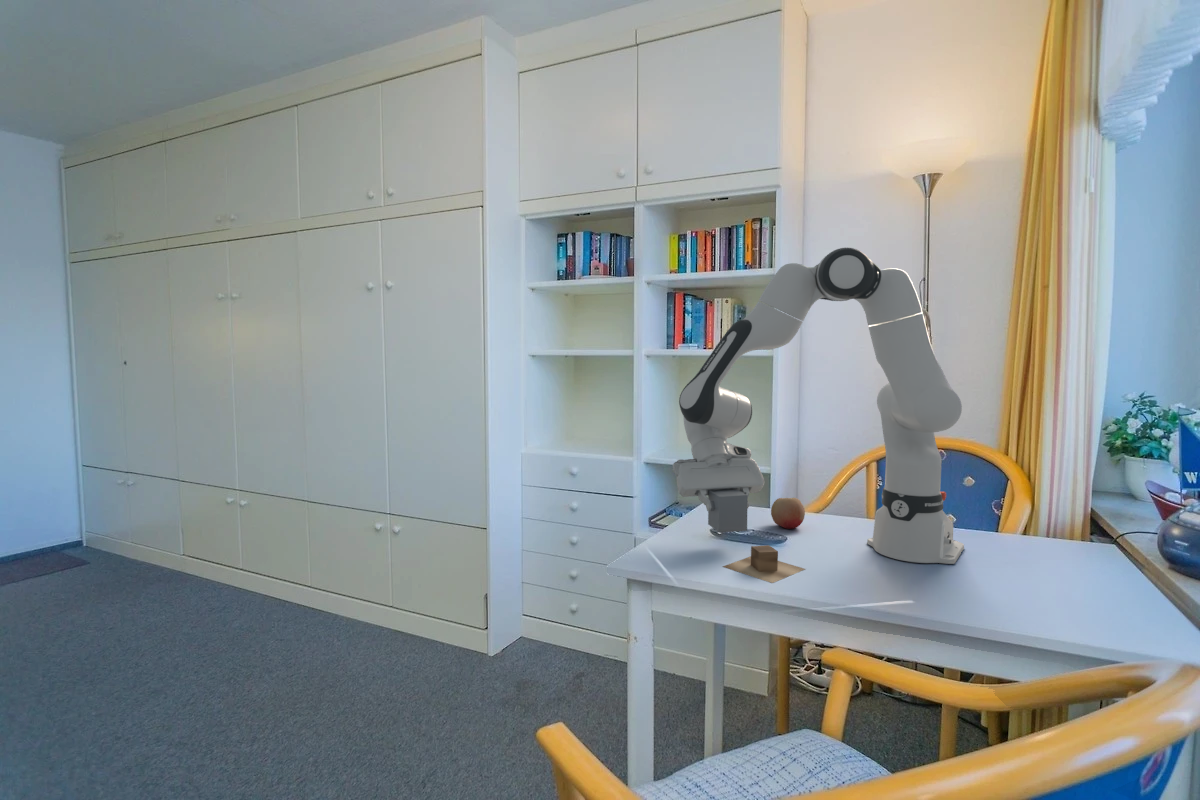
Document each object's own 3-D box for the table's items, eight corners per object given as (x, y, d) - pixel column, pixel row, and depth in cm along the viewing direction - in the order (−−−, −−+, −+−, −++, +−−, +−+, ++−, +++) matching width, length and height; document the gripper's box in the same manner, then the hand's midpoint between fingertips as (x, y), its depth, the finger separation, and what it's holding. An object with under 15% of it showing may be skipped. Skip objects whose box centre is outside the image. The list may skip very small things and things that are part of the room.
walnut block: (750, 565, 130) (751, 546, 130) (768, 563, 131) (768, 545, 131) (759, 571, 126) (759, 552, 126) (777, 570, 127) (778, 551, 127)
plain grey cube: (708, 524, 143) (708, 490, 143) (735, 522, 144) (735, 488, 144) (719, 532, 137) (719, 496, 136) (747, 530, 138) (747, 495, 137)
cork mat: (756, 556, 137) (756, 554, 137) (805, 570, 128) (805, 568, 128) (722, 568, 129) (722, 566, 129) (772, 585, 120) (772, 583, 120)
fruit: (796, 523, 164) (797, 493, 163) (808, 532, 156) (809, 500, 155) (766, 523, 163) (767, 493, 163) (777, 532, 155) (778, 500, 155)
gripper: (673, 452, 144) (687, 504, 135) (756, 448, 148) (775, 499, 139) (668, 467, 149) (681, 518, 140) (748, 464, 153) (765, 513, 144)
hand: (728, 508), depth 140 cm, fingers closed on plain grey cube, 7 cm apart
